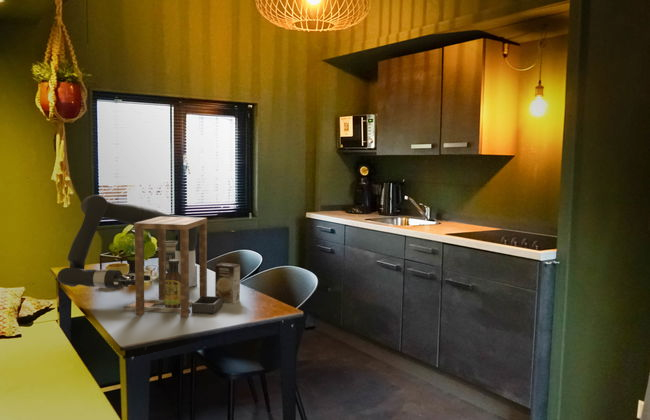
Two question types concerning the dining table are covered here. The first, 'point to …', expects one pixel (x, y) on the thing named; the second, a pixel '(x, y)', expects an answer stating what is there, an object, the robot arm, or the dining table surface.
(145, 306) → the pad
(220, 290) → the coffee box
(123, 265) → the plant pot
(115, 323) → the dining table surface
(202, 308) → the box
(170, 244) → the apothecary jar
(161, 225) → the frame
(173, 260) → the sauce bottle
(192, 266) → the robot arm
